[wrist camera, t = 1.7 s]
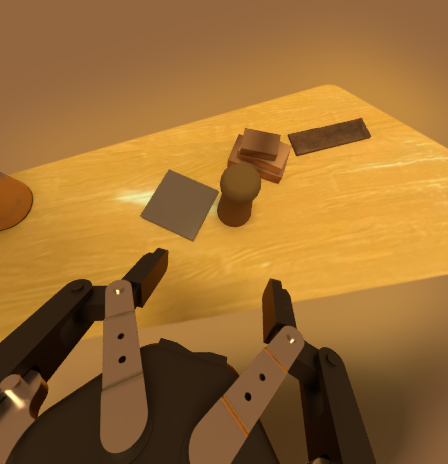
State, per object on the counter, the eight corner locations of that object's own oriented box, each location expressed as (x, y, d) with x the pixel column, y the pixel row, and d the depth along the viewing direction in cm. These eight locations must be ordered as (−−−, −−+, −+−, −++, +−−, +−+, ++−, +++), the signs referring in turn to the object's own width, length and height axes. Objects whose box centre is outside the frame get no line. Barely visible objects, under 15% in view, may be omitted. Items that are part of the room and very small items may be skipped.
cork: (210, 207, 32) (206, 171, 21) (237, 189, 33) (246, 146, 22) (231, 233, 31) (237, 209, 20) (258, 214, 32) (277, 181, 21)
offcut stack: (227, 166, 34) (229, 146, 29) (237, 141, 36) (241, 118, 31) (278, 183, 34) (289, 166, 28) (286, 157, 35) (298, 135, 30)
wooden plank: (298, 153, 35) (289, 131, 35) (295, 157, 36) (286, 136, 37) (372, 136, 37) (361, 116, 38) (366, 140, 38) (356, 121, 39)
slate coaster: (141, 217, 31) (139, 216, 31) (169, 171, 34) (169, 169, 33) (193, 241, 30) (192, 240, 30) (218, 192, 33) (218, 190, 32)
